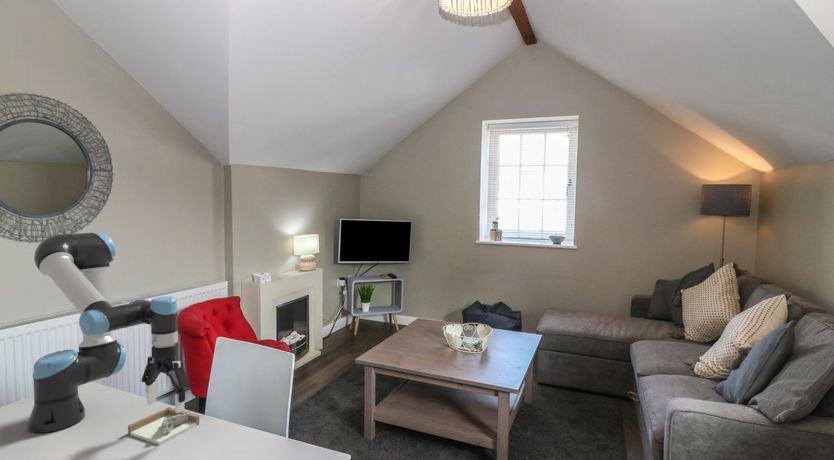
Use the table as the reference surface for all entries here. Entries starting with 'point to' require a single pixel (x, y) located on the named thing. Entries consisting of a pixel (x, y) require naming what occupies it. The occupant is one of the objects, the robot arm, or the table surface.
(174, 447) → the table surface
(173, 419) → the stone
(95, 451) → the table surface
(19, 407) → the table surface
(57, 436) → the table surface
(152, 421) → the corner
